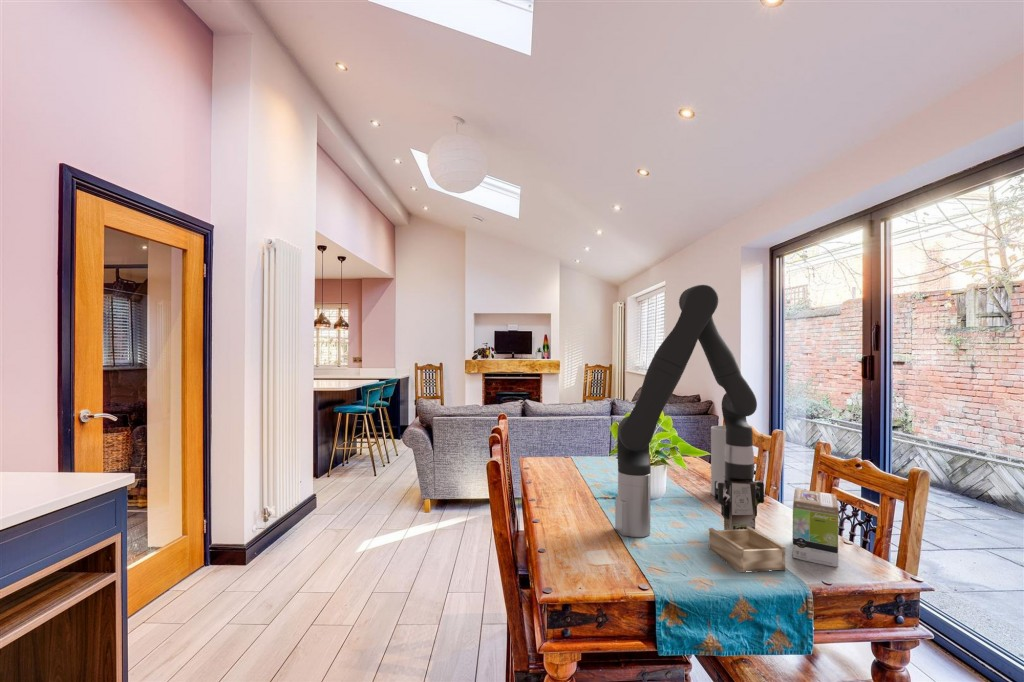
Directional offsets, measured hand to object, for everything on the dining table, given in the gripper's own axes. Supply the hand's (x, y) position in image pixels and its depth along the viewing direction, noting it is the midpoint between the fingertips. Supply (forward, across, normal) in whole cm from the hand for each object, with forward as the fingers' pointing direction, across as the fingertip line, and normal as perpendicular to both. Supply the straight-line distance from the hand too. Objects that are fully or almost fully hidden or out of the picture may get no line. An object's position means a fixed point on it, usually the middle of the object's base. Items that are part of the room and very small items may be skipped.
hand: (739, 518), depth 137 cm
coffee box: (+5, 0, 0) cm, 5 cm away
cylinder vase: (+5, +20, +37) cm, 42 cm away
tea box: (+5, +13, -13) cm, 19 cm away
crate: (+5, -8, -15) cm, 18 cm away
